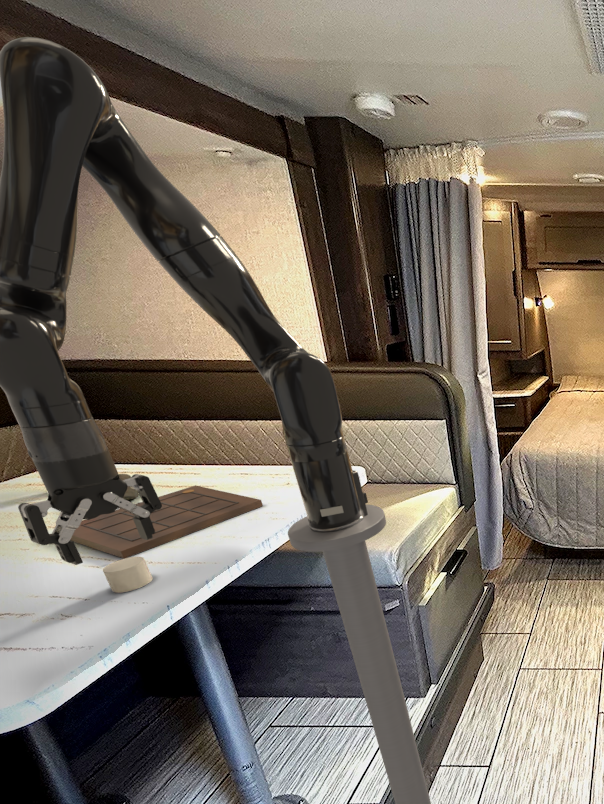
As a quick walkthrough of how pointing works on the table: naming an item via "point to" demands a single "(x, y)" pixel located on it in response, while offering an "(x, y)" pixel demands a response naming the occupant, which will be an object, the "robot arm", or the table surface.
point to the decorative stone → (129, 488)
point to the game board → (163, 520)
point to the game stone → (127, 574)
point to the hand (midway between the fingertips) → (113, 550)
